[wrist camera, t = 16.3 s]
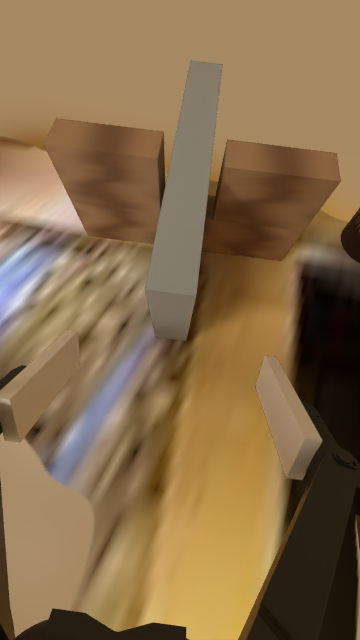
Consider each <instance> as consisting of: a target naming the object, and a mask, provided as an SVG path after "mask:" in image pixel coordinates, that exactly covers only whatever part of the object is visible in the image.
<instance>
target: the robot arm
mask: <svg viewBox="0 0 360 640" xmlns="http://www.w3.org/2000/svg"><path fill="white" fill-rule="evenodd" d="M79 365H80V356H79V343H78V332H77V331H69V330H66V331H65V332H64V333H63V334H62V335H61V336H60V337H59V338H58V339H57V340H55V341H54V342H53V343H52V344H51V345H50V346H49V347H48V348H47V349H46V350H44V351H43V352H42V353H41V354H40V355H39V356H38V357H37V358H36V359H35V360H33V361H32V362H31V363H30V364H29V365H28V366H23V365H21V366H19V367H17V368H15V369H13V370H12V371H10V372H9V373H8V374H7V375H6V376H5V377H3V378H2V379H1V380H0V434H1V433H2V432H3V436H4V439H5V441H12V442H21V441H22V440H23V438H24V437H25V436H26V434H27V433H28V432H29V430H30V429H31V428H32V426H33V425H34V424H35V423H36V421H37V420H38V419H39V417H40V416H41V415H42V413H43V412H44V411H45V410H46V408H47V407H48V406H49V404H50V403H51V402H52V400H53V399H54V398H55V396H56V395H57V394H58V393H59V391H60V390H61V389H62V387H63V386H64V385H65V383H66V382H67V381H68V379H69V378H70V377H71V376H72V374H73V373H74V372H75V370H76V369H77V368H78V366H79ZM255 387H256V390H257V393H258V396H259V399H260V402H261V405H262V408H263V411H264V414H265V417H266V419H267V422H268V425H269V428H270V431H271V434H272V437H273V440H274V443H275V446H276V449H277V452H278V455H279V458H280V461H281V463H282V466H283V469H284V472H285V475H286V478H291V479H298V480H302V479H303V477H304V476H305V474H306V472H307V475H308V477H309V479H310V482H309V483H308V485H307V487H306V489H305V491H304V493H303V497H302V499H301V501H300V503H299V506H298V508H297V510H296V512H295V514H294V517H293V519H292V521H291V523H290V526H289V528H288V530H287V532H286V534H285V537H284V539H283V541H282V543H281V546H280V548H279V550H278V552H277V555H276V557H275V559H274V561H273V563H272V566H271V568H270V570H269V572H268V575H267V577H266V579H265V581H264V583H263V586H262V588H261V590H260V592H259V595H258V597H257V599H256V601H255V604H254V606H253V608H252V610H251V612H250V615H249V617H248V619H247V621H246V624H245V626H244V628H243V630H242V632H241V635H240V637H239V639H238V640H318V639H319V635H320V631H321V627H322V623H323V619H324V615H325V611H326V607H327V603H328V599H329V595H330V591H331V587H332V583H333V579H334V575H335V571H336V567H337V563H338V558H339V554H340V550H341V546H342V542H343V538H344V534H345V530H346V526H347V522H348V518H349V514H350V512H352V513H354V514H356V520H357V529H358V539H359V548H360V464H359V463H358V461H357V460H356V458H355V457H354V456H353V455H352V454H350V453H349V452H348V451H346V450H344V449H342V448H340V447H339V446H338V444H337V442H336V441H335V439H334V437H333V436H332V434H331V432H330V431H329V429H328V428H327V426H326V425H325V423H324V421H323V419H322V418H321V416H320V415H319V413H318V411H317V410H316V408H314V407H313V406H312V405H311V404H310V403H309V402H305V401H300V399H299V397H298V396H297V394H296V392H295V390H294V388H293V387H292V385H291V383H290V381H289V379H288V378H287V376H286V374H285V372H284V370H283V369H282V367H281V365H280V363H279V361H278V360H277V358H276V357H273V356H265V357H264V360H263V364H262V367H261V370H260V373H259V377H258V380H257V383H256V386H255ZM0 640H189V639H187V638H186V627H182V626H174V625H167V624H160V623H150V624H146V625H143V626H139V627H135V628H132V629H128V630H124V631H121V632H115V631H113V630H111V629H110V628H108V627H107V626H105V625H104V624H102V623H100V622H99V621H97V620H96V619H94V618H92V617H91V616H89V615H88V614H86V613H82V612H75V611H67V610H60V609H52V612H51V614H50V618H49V620H45V621H42V622H40V623H38V624H35V625H33V626H32V627H30V628H29V629H27V630H25V631H24V632H22V633H21V634H20V635H18V636H17V637H15V634H14V626H13V619H12V615H11V610H10V601H9V590H8V575H7V563H6V548H5V536H4V522H3V508H2V495H1V481H0Z"/></svg>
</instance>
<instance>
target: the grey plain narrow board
mask: <svg viewBox="0 0 360 640" xmlns="http://www.w3.org/2000/svg"><path fill="white" fill-rule="evenodd" d="M221 74H222V64H215V63H207V62H198V61H190V66H189V71H188V76H187V81H186V86H185V91H184V96H183V101H182V106H181V111H180V116H179V121H178V126H177V131H176V136H175V141H174V146H173V151H172V156H171V161H170V166H169V171H168V176H167V181H166V186H165V191H164V196H163V201H162V206H161V211H160V216H159V221H158V226H157V231H156V236H155V241H154V246H153V251H152V256H151V261H150V266H149V271H148V276H147V281H146V286H145V292H146V296H147V301H148V305H149V310H150V314H151V319H152V323H153V328H154V332H155V337H159V338H167V339H174V340H182V341H186V339H187V335H188V330H189V326H190V322H191V317H192V313H193V308H194V304H195V299H196V294H197V285H198V276H199V267H200V259H201V250H202V241H203V232H204V223H205V215H206V206H207V197H208V188H209V179H210V170H211V161H212V153H213V144H214V135H215V127H216V118H217V109H218V100H219V91H220V83H221Z"/></svg>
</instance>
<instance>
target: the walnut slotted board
mask: <svg viewBox="0 0 360 640" xmlns="http://www.w3.org/2000/svg"><path fill="white" fill-rule="evenodd" d="M44 146H45V148H46V150H47V152H48V154H49V156H50V158H51V160H52V162H53V164H54V167H55V169H56V171H57V173H58V175H59V177H60V179H61V181H62V183H63V185H64V187H65V189H66V191H67V193H68V195H69V197H70V199H71V202H72V204H73V206H74V208H75V210H76V212H77V214H78V216H79V218H80V220H81V222H82V224H83V226H84V228H85V230H86V232H87V234H88V236H94V237H102V238H110V239H117V240H125V241H133V242H141V243H148V244H154V241H155V236H156V231H157V226H158V221H159V216H160V211H161V206H162V201H163V196H164V191H165V166H164V132H162V131H153V130H145V129H136V128H129V127H121V126H113V125H105V124H97V123H88V122H81V121H73V120H64V119H56V120H55V122H54V124H53V126H52V128H51V130H50V132H49V134H48V137H47V138H46V141H45V143H44ZM340 181H341V180H340V173H339V166H338V159H337V153H331V152H323V151H315V150H307V149H299V148H291V147H282V146H274V145H266V144H259V143H250V142H242V141H234V140H227V143H226V149H225V153H224V158H223V163H222V167H221V172H220V178H219V182H218V186H217V191H216V196H208V197H207V206H206V215H205V223H204V232H203V241H202V251H210V252H218V253H225V254H233V255H241V256H249V257H256V258H264V259H272V260H279V261H281V260H282V259H283V258H284V256H285V255H286V254H287V252H288V251H289V250H290V248H291V247H292V246H293V244H294V243H295V242H296V240H297V239H298V238H299V236H300V235H301V234H302V232H303V231H304V230H305V228H306V227H307V226H308V224H309V223H310V222H311V220H312V219H313V218H314V216H315V215H316V214H317V212H318V211H319V210H320V208H321V207H322V206H323V204H324V203H325V202H326V200H327V199H328V198H329V196H330V195H331V194H332V192H333V191H334V190H335V188H336V187H337V186H338V184H339V183H340Z"/></svg>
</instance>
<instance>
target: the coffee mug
mask: <svg viewBox="0 0 360 640" xmlns="http://www.w3.org/2000/svg"><path fill="white" fill-rule="evenodd" d="M341 242H342V246H343V248H344V250H345V251H346V252H347V254H348V255H349V256H350V257H351V258H353V259H354V260H356V261H357V262H359V263H360V208H359V210H358V211H357V213H356V214H355V215H354V216H353V218H352V219H351V220H350V222H349V223H348V224H347V226H346V227H345V228H344V230H343V231H342V234H341Z"/></svg>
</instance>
